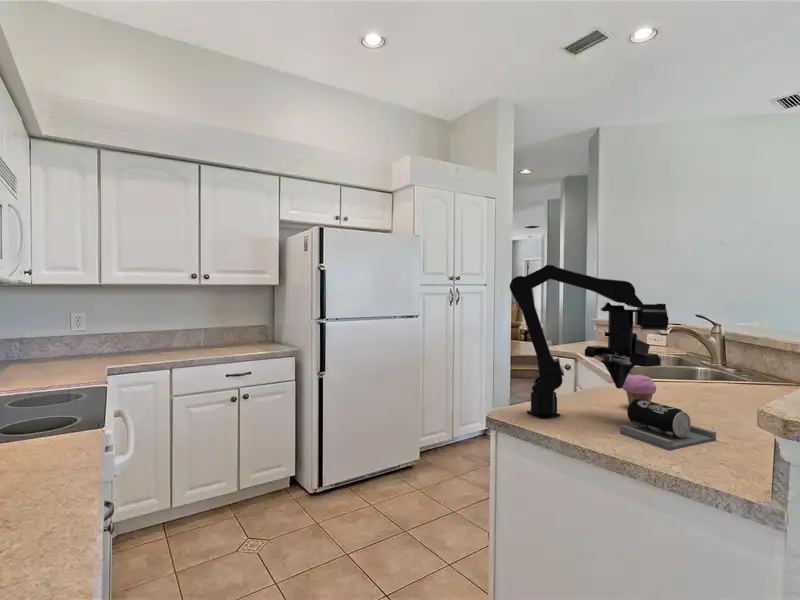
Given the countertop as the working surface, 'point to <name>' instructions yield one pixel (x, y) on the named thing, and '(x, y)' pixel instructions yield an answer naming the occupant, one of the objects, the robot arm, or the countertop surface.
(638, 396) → the cupcake
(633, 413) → the beverage can
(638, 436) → the grey tray
